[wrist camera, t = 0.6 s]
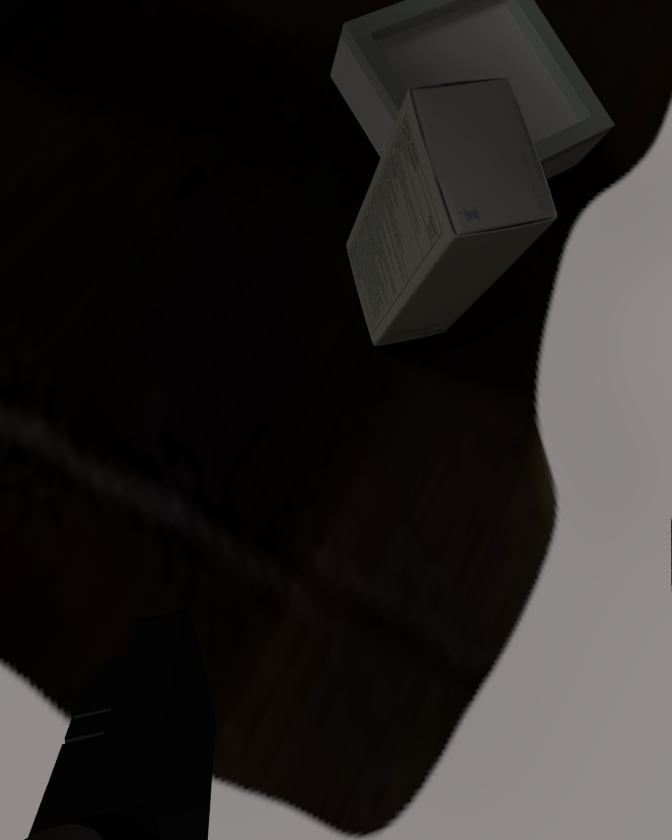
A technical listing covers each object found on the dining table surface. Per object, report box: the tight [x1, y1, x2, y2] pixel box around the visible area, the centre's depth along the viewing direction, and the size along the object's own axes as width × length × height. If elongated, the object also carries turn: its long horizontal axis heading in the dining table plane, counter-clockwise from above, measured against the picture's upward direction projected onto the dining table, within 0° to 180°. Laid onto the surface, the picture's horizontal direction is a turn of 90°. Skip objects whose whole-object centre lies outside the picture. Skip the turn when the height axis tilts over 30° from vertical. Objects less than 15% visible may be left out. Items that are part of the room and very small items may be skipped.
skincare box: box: [346, 77, 557, 346], centre depth 29 cm, size 6×4×12 cm
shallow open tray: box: [330, 0, 614, 180], centre depth 36 cm, size 11×11×4 cm
